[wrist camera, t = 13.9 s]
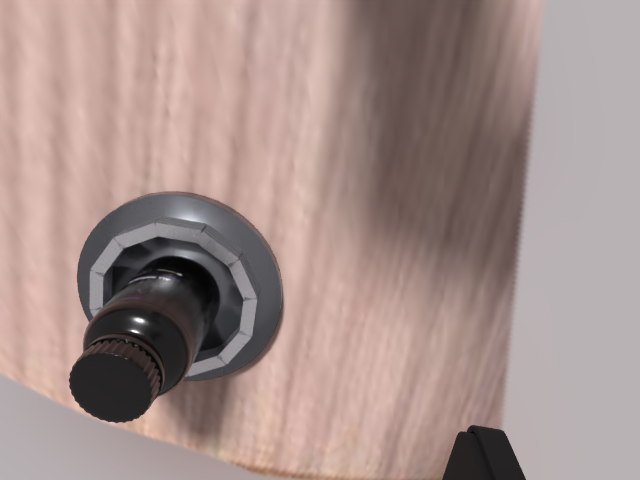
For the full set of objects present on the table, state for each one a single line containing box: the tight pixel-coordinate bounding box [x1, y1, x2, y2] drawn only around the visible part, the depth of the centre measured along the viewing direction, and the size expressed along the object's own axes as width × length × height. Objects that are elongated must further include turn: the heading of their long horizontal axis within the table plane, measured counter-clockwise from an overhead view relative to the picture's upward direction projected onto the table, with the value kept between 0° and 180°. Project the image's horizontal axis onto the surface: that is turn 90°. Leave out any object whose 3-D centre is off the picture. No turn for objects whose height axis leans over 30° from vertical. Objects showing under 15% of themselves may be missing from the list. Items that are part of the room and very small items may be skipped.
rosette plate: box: [77, 191, 283, 381], centre depth 38 cm, size 16×16×3 cm
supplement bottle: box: [69, 255, 220, 423], centre depth 33 cm, size 7×7×12 cm
